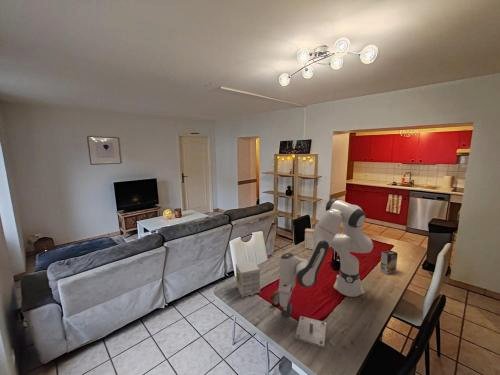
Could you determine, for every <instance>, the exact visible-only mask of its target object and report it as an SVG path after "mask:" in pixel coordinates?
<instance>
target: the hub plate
mask: <svg viewBox="0 0 500 375" xmlns="http://www.w3.org/2000/svg"><path fill="white" fill-rule="evenodd" d="M326 333H327V322H326V321H323V320H318V319H315V318H309V317H307V316H302V315H300V316H299V320H298V324H297V327H296V332H295V336H294V340H295V341H298V342H301V343H306V344H309V345H312V346H315V347H319V348H321V349H325V345H326V344H325V342H326Z"/></svg>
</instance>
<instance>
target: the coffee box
mask: <svg viewBox="0 0 500 375" xmlns="http://www.w3.org/2000/svg"><path fill="white" fill-rule="evenodd" d="M380 255H381V256H380V257H381V258H380V269H379V272H381V273H383V274H385V275H391V274H396V273H397V263H398V252H396V251H394V250H391V249H388V250H383V251H381V254H380Z"/></svg>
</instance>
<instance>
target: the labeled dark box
mask: <svg viewBox="0 0 500 375" xmlns="http://www.w3.org/2000/svg"><path fill="white" fill-rule="evenodd" d="M280 308H281V309H280V310H281V314H280V315H281V316H283V315H284V317H287V316H288V318H290V317H291V315H292V311H293V303H291V302H288V305H287V310H284V308H283V307H281V306H280Z"/></svg>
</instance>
